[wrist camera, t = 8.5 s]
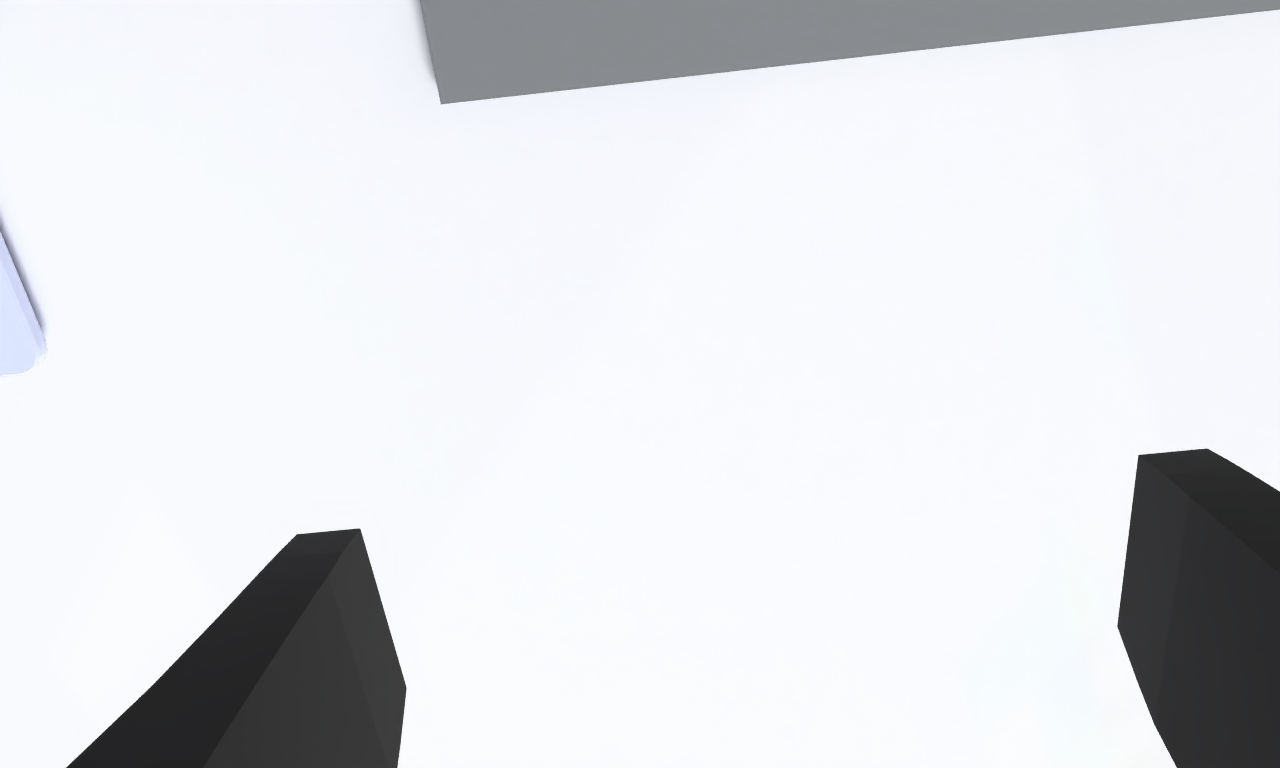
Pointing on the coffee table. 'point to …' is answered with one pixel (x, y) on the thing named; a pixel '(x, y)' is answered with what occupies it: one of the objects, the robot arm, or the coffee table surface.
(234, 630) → the robot arm
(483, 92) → the mat
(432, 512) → the coffee table surface
